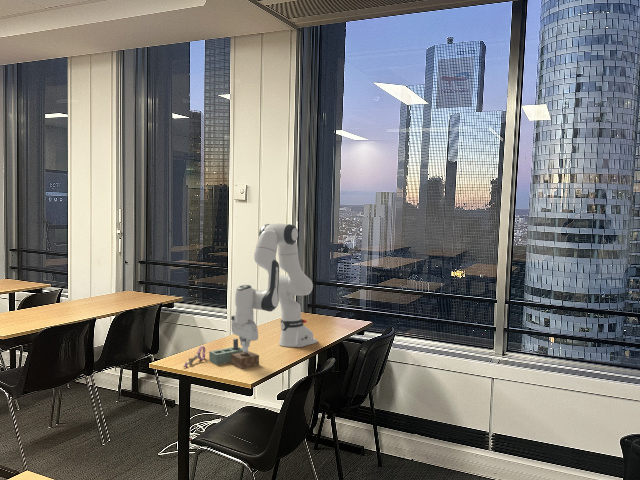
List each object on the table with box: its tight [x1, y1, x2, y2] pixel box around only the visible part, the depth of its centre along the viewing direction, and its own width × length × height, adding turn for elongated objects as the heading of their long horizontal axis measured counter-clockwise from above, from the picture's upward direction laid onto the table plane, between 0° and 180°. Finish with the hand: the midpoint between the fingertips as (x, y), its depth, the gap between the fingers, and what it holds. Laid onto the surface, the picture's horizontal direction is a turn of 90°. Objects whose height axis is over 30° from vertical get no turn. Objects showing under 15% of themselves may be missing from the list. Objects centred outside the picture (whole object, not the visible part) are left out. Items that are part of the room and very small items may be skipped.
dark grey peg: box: [232, 338, 239, 350], centre depth 281 cm, size 2×2×10 cm
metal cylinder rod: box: [241, 337, 249, 356], centre depth 269 cm, size 3×3×14 cm
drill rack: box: [208, 346, 242, 366], centre depth 278 cm, size 16×8×5 cm, turn 128°
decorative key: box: [183, 345, 206, 368], centre depth 273 cm, size 7×1×20 cm
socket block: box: [230, 350, 260, 370], centre depth 269 cm, size 10×10×5 cm
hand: (245, 346), depth 269 cm, fingers closed on metal cylinder rod, 3 cm apart
